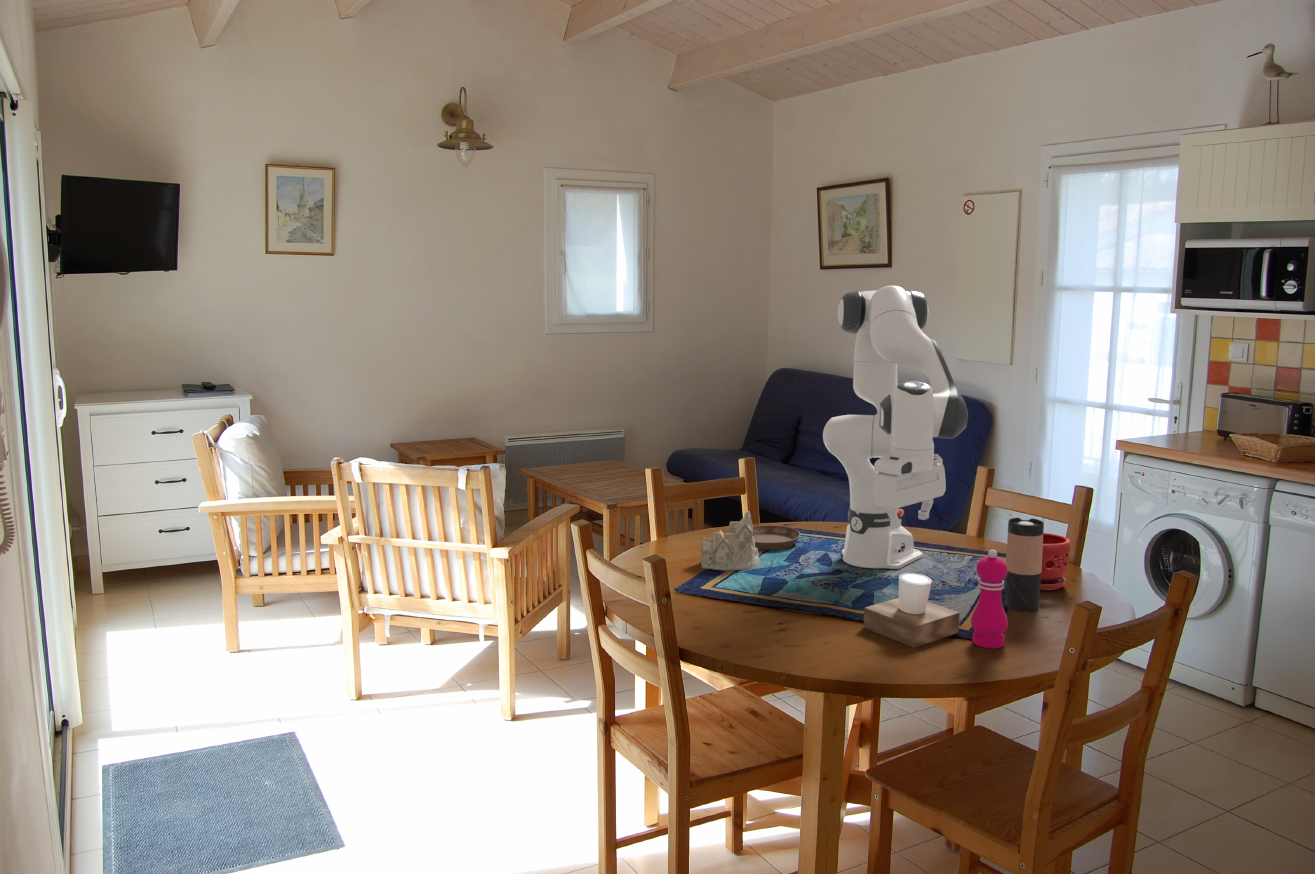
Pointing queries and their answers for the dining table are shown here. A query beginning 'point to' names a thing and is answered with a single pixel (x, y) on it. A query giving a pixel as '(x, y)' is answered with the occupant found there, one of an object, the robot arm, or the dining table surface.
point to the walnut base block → (911, 622)
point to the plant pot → (1054, 561)
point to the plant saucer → (774, 537)
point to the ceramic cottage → (731, 547)
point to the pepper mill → (990, 603)
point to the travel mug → (1023, 564)
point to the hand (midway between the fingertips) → (909, 523)
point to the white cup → (913, 592)
